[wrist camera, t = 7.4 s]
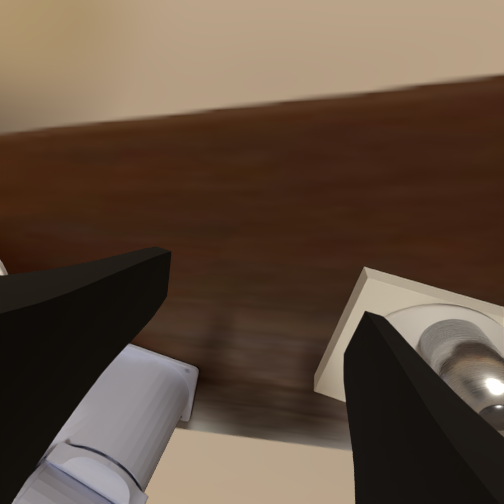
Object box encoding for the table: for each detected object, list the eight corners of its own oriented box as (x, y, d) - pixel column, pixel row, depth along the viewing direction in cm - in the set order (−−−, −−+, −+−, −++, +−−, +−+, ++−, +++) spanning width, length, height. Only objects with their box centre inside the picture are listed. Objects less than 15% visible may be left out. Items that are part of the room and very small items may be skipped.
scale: (314, 375, 24) (313, 399, 21) (364, 265, 19) (370, 282, 17) (463, 425, 22) (479, 457, 20) (558, 321, 18) (592, 348, 15)
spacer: (408, 353, 18) (438, 427, 13) (436, 311, 16) (481, 378, 12) (464, 372, 18) (515, 455, 13) (499, 330, 16) (570, 407, 12)
